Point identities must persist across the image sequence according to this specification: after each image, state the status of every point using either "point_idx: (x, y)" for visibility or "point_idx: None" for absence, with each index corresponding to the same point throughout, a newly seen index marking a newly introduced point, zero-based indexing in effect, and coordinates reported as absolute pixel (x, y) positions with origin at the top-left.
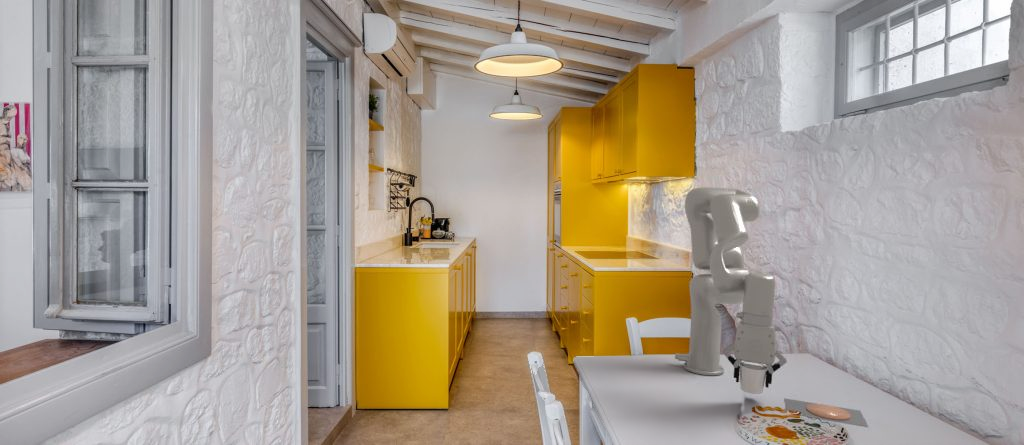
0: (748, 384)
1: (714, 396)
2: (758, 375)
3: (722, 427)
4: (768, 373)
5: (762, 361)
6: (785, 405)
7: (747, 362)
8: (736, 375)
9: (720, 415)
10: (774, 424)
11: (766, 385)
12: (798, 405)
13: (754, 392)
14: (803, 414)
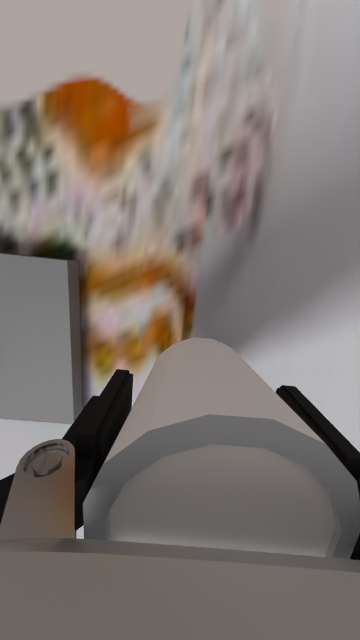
0: (231, 355)
1: (305, 388)
2: (177, 387)
3: (356, 12)
4: (84, 434)
5: (101, 603)
6: (70, 351)
7: None
8: (318, 411)
9: (328, 187)
10: (124, 173)
11: (125, 373)
12: (25, 370)
13: (191, 339)
14: (2, 273)
